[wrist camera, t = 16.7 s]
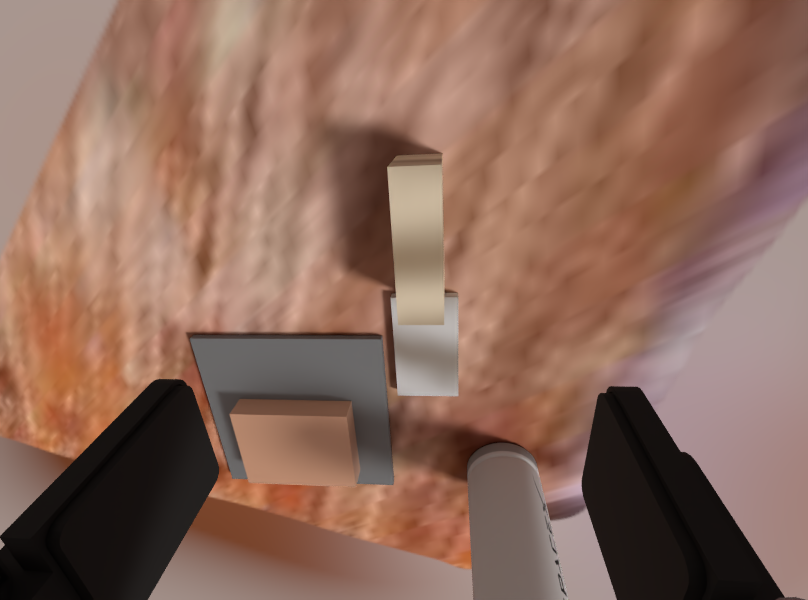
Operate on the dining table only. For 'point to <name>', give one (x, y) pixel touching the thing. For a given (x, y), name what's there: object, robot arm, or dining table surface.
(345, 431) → the tile
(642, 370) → the dining table surface
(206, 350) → the grey square plate
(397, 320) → the beige rectangular bar
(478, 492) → the travel mug
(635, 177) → the dining table surface
